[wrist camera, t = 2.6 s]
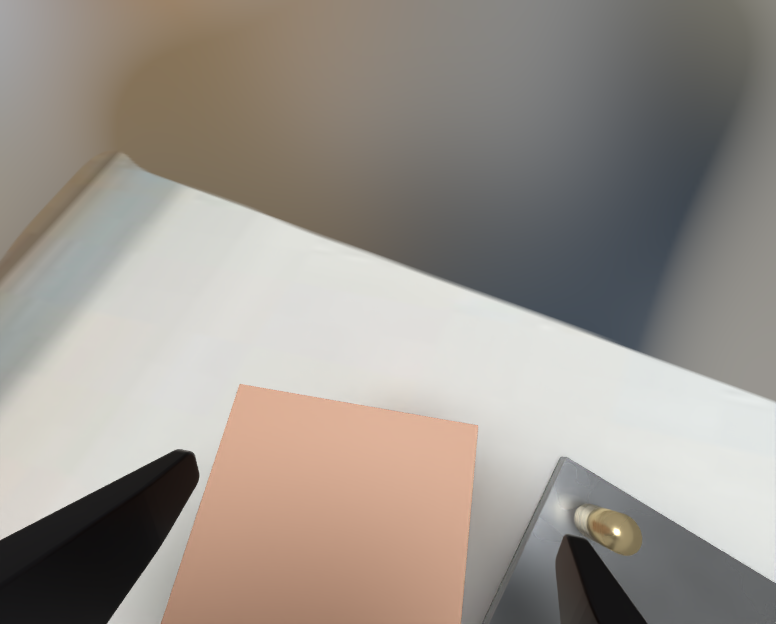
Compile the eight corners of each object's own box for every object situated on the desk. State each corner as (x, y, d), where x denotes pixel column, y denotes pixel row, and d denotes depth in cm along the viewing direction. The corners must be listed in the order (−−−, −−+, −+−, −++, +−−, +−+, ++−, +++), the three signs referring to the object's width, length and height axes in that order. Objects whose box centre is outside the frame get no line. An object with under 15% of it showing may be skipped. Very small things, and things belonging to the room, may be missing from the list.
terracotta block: (441, 548, 15) (450, 742, 5) (337, 523, 16) (155, 642, 5) (452, 446, 16) (478, 425, 6) (357, 428, 17) (239, 384, 7)
